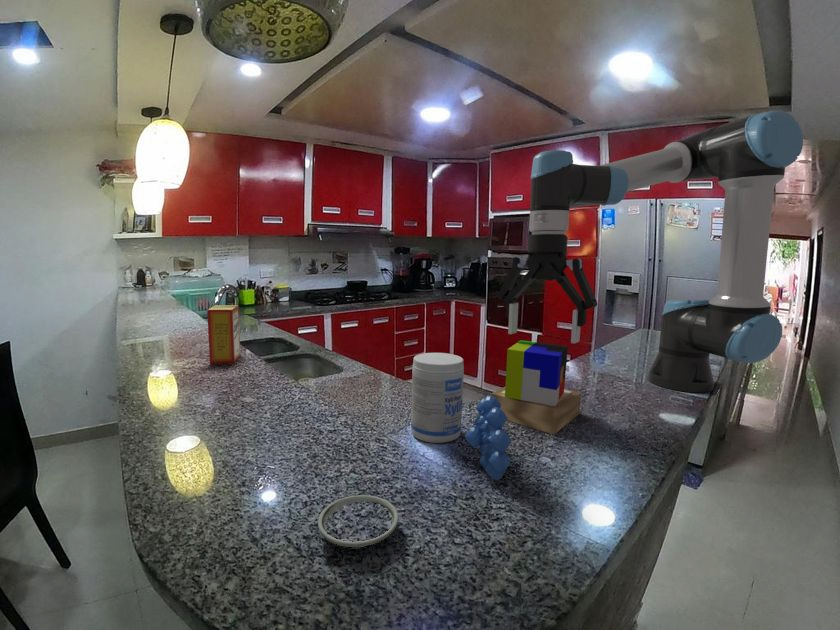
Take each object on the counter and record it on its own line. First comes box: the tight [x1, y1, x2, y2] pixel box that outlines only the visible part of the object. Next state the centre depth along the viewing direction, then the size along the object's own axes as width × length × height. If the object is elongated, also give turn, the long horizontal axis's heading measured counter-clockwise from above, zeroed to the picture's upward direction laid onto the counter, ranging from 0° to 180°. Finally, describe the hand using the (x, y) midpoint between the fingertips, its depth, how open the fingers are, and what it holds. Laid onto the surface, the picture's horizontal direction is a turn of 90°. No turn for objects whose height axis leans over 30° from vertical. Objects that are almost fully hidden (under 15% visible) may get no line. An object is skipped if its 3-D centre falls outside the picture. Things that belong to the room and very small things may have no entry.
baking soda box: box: [206, 304, 241, 365], centre depth 127 cm, size 10×6×16 cm
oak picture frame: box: [490, 386, 582, 435], centre depth 91 cm, size 14×14×5 cm
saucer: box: [317, 494, 399, 547], centre depth 52 cm, size 10×10×2 cm
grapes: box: [464, 394, 512, 481], centre depth 67 cm, size 12×7×12 cm, turn 8°
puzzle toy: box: [504, 339, 569, 406], centre depth 89 cm, size 10×10×10 cm
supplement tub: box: [410, 352, 465, 444], centre depth 80 cm, size 10×10×15 cm
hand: (542, 337), depth 89 cm, fingers open, 13 cm apart
